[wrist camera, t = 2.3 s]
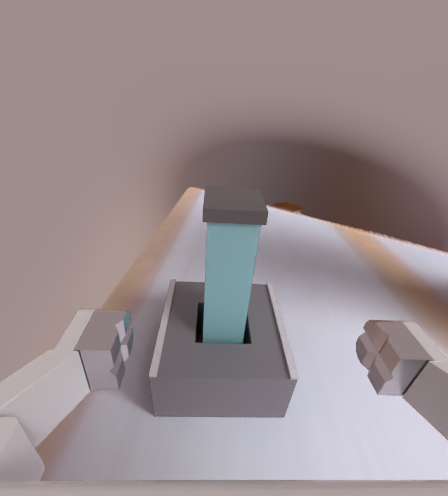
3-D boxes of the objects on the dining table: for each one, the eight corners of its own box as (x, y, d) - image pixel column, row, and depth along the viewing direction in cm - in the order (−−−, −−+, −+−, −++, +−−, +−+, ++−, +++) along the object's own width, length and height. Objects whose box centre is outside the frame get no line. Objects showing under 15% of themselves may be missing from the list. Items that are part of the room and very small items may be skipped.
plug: (200, 337, 31) (205, 186, 22) (238, 338, 31) (259, 189, 22) (198, 372, 27) (203, 208, 18) (241, 372, 28) (268, 211, 18)
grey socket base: (172, 317, 35) (170, 279, 31) (264, 320, 35) (272, 282, 32) (154, 416, 24) (148, 374, 21) (284, 417, 25) (298, 377, 22)
